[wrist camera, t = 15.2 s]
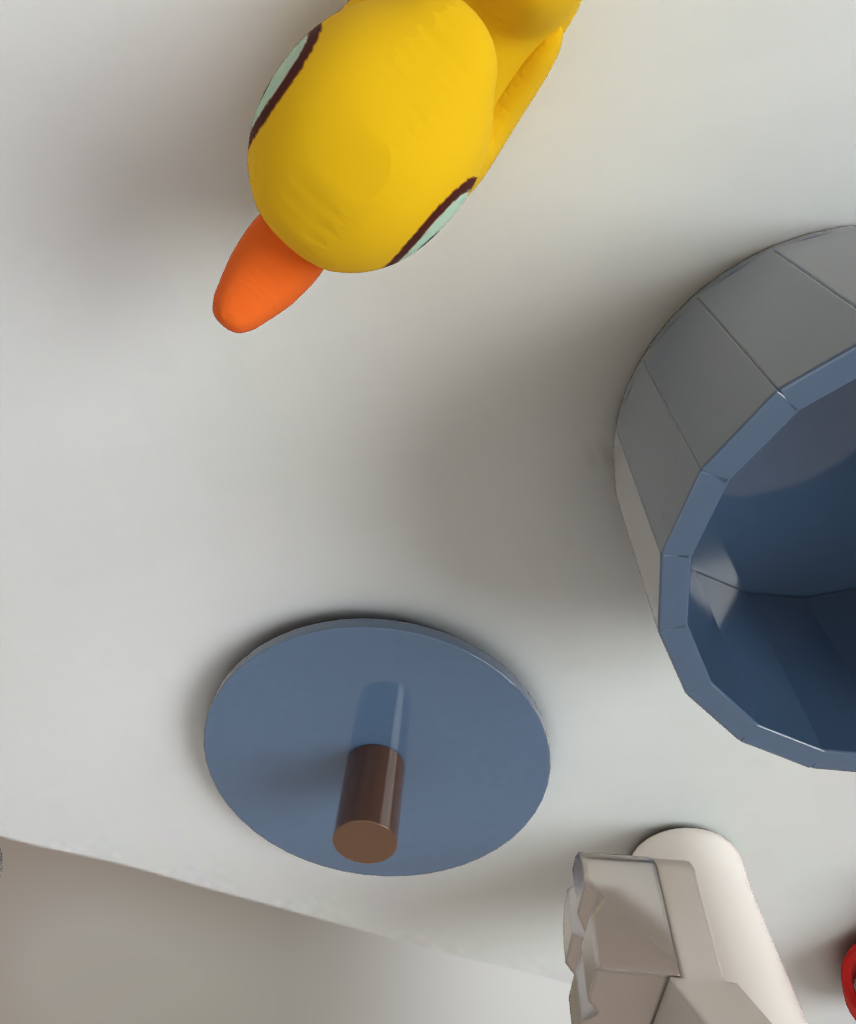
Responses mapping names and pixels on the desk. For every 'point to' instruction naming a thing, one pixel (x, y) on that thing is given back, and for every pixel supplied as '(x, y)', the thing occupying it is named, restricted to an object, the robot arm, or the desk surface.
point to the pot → (754, 496)
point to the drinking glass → (732, 919)
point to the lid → (377, 747)
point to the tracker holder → (849, 979)
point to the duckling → (380, 137)
